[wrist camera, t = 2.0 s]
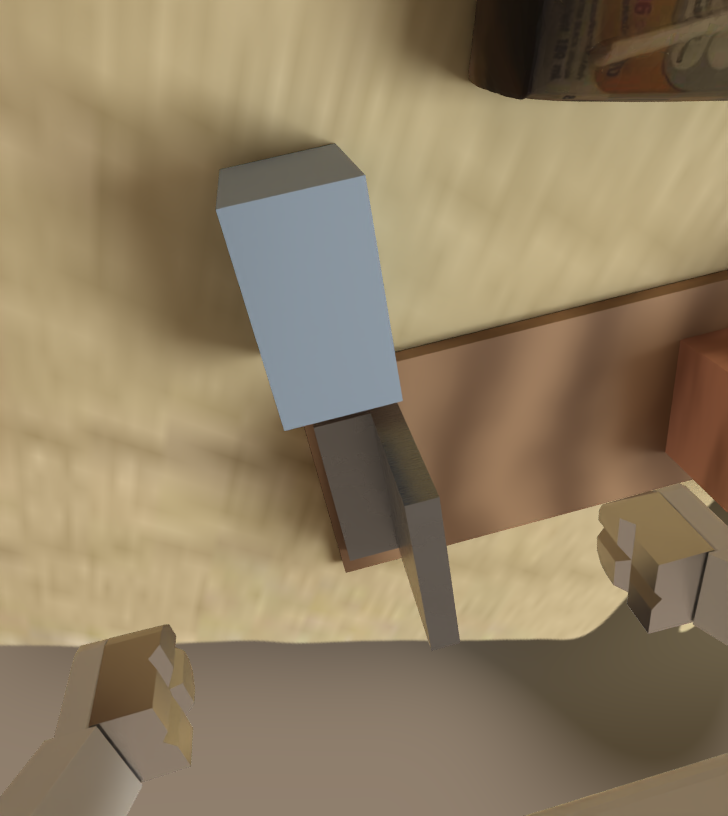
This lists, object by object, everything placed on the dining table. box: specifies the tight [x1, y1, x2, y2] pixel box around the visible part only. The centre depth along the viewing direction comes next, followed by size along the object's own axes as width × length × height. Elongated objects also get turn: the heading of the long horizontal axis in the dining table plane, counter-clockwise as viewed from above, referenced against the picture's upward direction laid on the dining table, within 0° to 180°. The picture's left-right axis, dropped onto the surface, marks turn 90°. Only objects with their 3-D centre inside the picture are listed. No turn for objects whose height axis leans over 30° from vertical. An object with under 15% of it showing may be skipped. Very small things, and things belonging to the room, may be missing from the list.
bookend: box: [313, 403, 460, 651], centre depth 30 cm, size 4×10×8 cm, turn 10°
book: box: [216, 144, 403, 431], centre depth 25 cm, size 5×9×7 cm, turn 10°
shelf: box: [304, 270, 728, 573], centre depth 31 cm, size 31×14×11 cm, turn 100°
